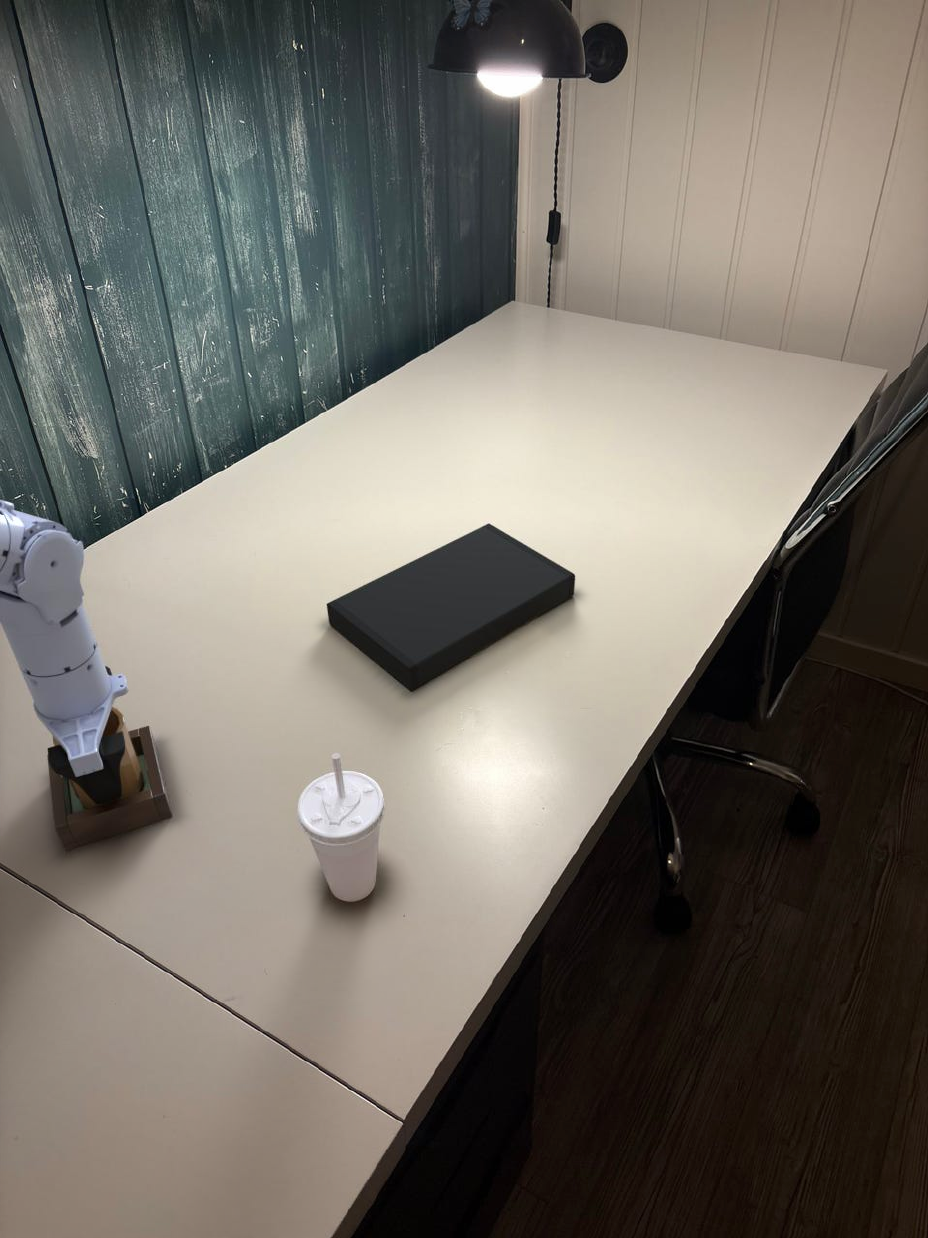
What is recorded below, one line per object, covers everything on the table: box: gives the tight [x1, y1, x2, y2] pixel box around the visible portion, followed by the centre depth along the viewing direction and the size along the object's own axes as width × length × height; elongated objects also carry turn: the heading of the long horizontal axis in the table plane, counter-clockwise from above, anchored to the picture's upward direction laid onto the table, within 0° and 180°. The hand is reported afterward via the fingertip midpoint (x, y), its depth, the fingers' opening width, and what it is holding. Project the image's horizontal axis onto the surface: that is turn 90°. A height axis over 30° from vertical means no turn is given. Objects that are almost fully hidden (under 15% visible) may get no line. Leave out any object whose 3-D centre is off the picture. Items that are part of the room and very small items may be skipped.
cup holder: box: [46, 725, 173, 852], centre depth 79 cm, size 9×9×3 cm
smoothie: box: [297, 752, 386, 903], centre depth 69 cm, size 6×6×14 cm
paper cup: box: [51, 706, 144, 808], centre depth 77 cm, size 6×6×7 cm
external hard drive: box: [326, 523, 576, 692], centre depth 99 cm, size 14×23×3 cm, turn 131°
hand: (104, 772), depth 78 cm, fingers closed on paper cup, 6 cm apart
